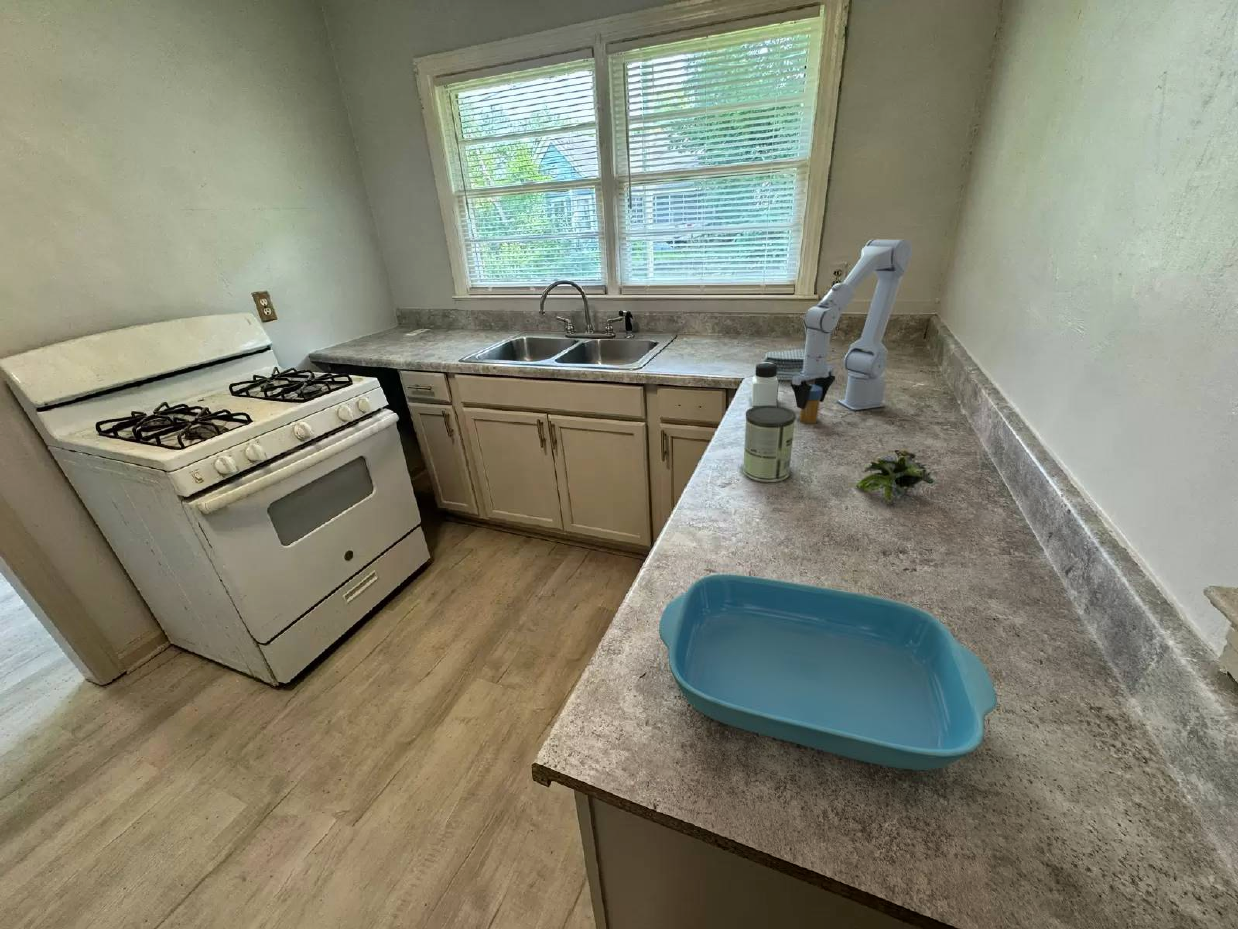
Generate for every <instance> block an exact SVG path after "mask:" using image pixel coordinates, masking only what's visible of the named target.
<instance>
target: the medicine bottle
mask: <svg viewBox="0 0 1238 929" xmlns="http://www.w3.org/2000/svg"><path fill="white" fill-rule="evenodd" d="M776 374H777V365H776V364H774V363H770V362H764V361H763V363H762V362H760V363H757V364H756V365H755V374H754V376H752V380H751V395H750V396H751V398H750V399H751V400H750V401H751V405H752V407H757V406H766V405H772V406H778V398H779V397H778V396H779V380H777V377H776Z"/></svg>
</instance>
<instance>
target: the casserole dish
mask: <svg viewBox="0 0 1238 929" xmlns="http://www.w3.org/2000/svg"><path fill="white" fill-rule="evenodd" d="M658 633H659V637H660V640H661V642H662V643H663V644H664V645H665V647H666V648H667V649H668V666H669V668H670V673H671V674H672V677H673V679H674V680H675V682H676V685H677V687H678V689H679V690H680V693H681V694H682V696H683V697H684V698H685V700H686V701H687V702H688V703H689V704H690V705H691V706H692V707H693V708H694V709H695V710H697V711H698V712H699V713H701V714H703V715H704V716H706V717H708V718H710V719H711V720H713V721H714V720H715V721H717V722H720V723H722V724H725V725H728V726H730V727H734V728H737V729H740V730H744V731H747V732H752V733H755V734H758V735H762V736H766V737H770V738H773V739H777V740H781V741H786V742H790V743H792V744H798V745H801V746H803V747H807V748H812V749H815V750H817V751H818V750H819V751H822V752H826V753H829V754H833V755H836V756H841V757H845V758H849V759H852V760H857V761H860V762H865V763H869V764H874V765H878V766H884V767H889V768H895V769H901V770H911V771H929V770H936V769H939V768H943V767H946V766H949V765H951V764H953V763H956V762H957V761H959V760H960V759H962V758H964V757H965V756H967V755H969V754H971V753H973V752H974V751H975V750H976V749H978V748H979V747H980V745H981V743H982V742H983V740H984V736H985V717H986V716H987V715H989V714H990V713H991V712H993V710H994V709H995V708H996V706H997V704H998V703H997V702H998V696H997V692H996V689H995V686H994V683H993V681H992V679H991V676H990V673H989V672H988V670H987V668H986V666H985V664H984V663H983V662H982V660H980V658H979V657H978V656H977V655H976V654H975V653H974V652H972V651H971V650H969V649H968V648H967V647H965V646H964V645H963V644H961V643H960V642H959V641H958V640H957V639H956V638H955V636H954V635H953V634H952V632H951V631H950V629H949V628H948V627H947V626H946V625H945V624H944V623H943V622H942V621H941V620H939V619H938V618H937V617H935V616H933V615H932V614H930V613H929V612H926V610H923V609H920V608H918V607H916V606H913V605H910V604H907V603H905V602H900V601H897V600H892V599H888V598H884V597H879V596H875V595H869V594H863V593H858V592H853V591H848V590H847V591H846V590H841V589H834V588H828V587H822V586H815V585H810V584H809V585H808V584H803V583H798V582H792V581H786V580H779V579H778V580H777V579H772V578H765V577H759V576H753V575H752V576H751V575H744V574H734V573H732V574H731V573H719V574H718V573H717V574H710V575H706V576H703V577H700V578H699V579H697V580H696V581H694V582H693V583H692V584H691V585H690V586H689V587H688V588H687V589H686V591H685V592H684V593H683V594H681V595H678V596H677V597H676V598H674V599H673V600H671V601H670V602H669V603H668V604H667V605H666V607H665V608H664V610H663V612H662V614H661V617H660V621H659V626H658Z"/></svg>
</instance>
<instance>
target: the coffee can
mask: <svg viewBox="0 0 1238 929" xmlns="http://www.w3.org/2000/svg"><path fill="white" fill-rule="evenodd" d="M796 418H797V414H796V412H795V411H794V410H792V409H791V408H788V407H784V406H780V405H777V406H772V405H766V406H752V407H750V408H749V409H747V410H746V411H745V428H744V431H745V432H744V448H743V466H742V473H743V475H745V476H746V477H747V478H749V479H751V480H753V481H757V482H761V483H777V482H781V481H784V480H786V479H788V477H789V476H790V473H791V471H790V470H791V462H792V461H791V460H792V452H793V450H792V449H793V440H794V431H795V422H796V421H795V420H796Z"/></svg>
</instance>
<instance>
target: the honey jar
mask: <svg viewBox="0 0 1238 929" xmlns="http://www.w3.org/2000/svg"><path fill="white" fill-rule="evenodd" d="M820 403H821V402H820V399H818V400H807V403H806V407H805V409H801V408H800V410H799V418H798V419H799V422H801V423H804V424H815V423H817V422H818V417H819V410H820Z"/></svg>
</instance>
